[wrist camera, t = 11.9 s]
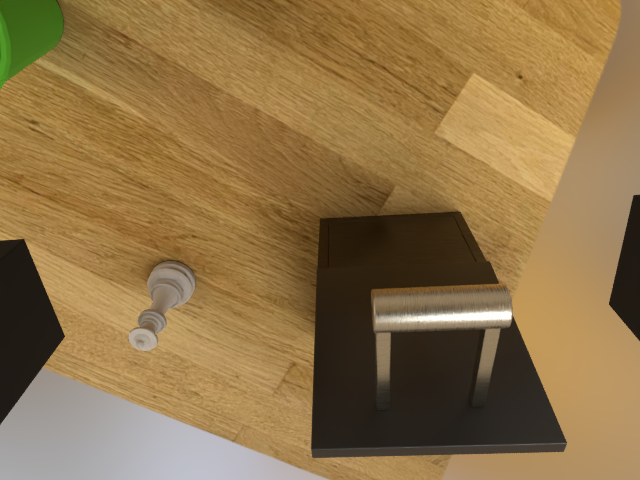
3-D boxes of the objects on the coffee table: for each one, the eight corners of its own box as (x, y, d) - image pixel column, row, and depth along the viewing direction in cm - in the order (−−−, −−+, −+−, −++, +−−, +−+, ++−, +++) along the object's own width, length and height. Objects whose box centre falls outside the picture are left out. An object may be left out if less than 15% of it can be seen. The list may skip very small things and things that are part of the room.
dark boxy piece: (451, 331, 51) (472, 396, 43) (328, 336, 51) (328, 400, 44) (460, 211, 44) (487, 261, 36) (320, 218, 45) (317, 269, 37)
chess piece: (142, 273, 48) (99, 340, 39) (176, 252, 47) (139, 316, 38) (172, 304, 50) (137, 375, 41) (205, 285, 49) (177, 353, 40)
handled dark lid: (564, 452, 25) (612, 327, 20) (312, 458, 25) (295, 339, 20) (488, 269, 36) (506, 161, 31) (317, 276, 37) (307, 172, 32)
